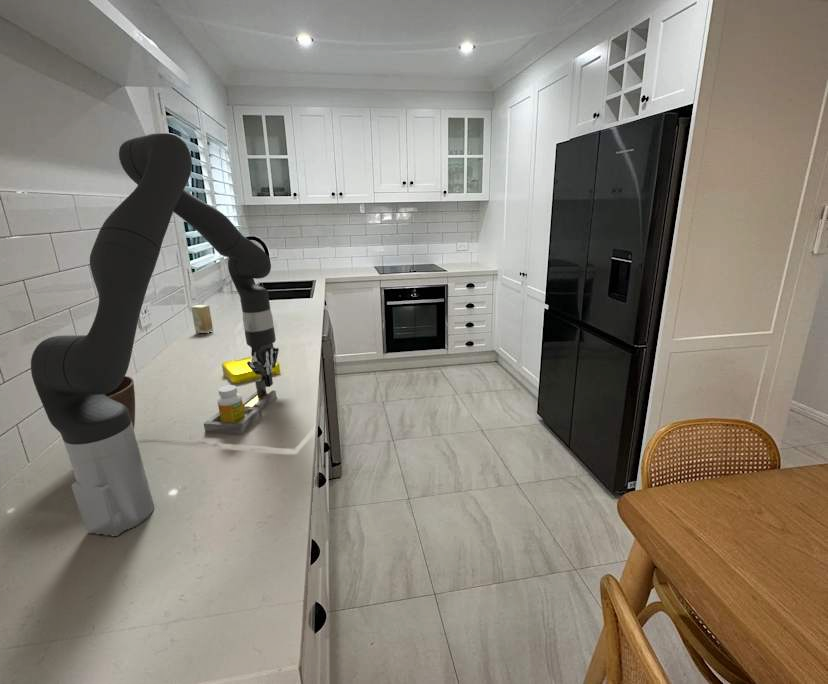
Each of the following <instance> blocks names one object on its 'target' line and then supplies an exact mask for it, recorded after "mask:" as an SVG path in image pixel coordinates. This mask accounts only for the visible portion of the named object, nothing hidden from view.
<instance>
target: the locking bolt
mask: <svg viewBox="0 0 828 684" xmlns="http://www.w3.org/2000/svg"><path fill="white" fill-rule="evenodd" d="M255 388H256V391H257V396H256V397H255V398H253V399H252V400H251V401H250V402H248V403H247V404H246V405H244V410H245V411H244V413H245V412H247V409H248V408H249V407H255V404H256V403H258V402H259V401H260V400H261V399H262V398H264V397H265V396H266V395H267V394H269V393H268V392H267V387H266V386H265V380H264V379H262V378H258V379H255ZM247 413H248V412H247Z"/></svg>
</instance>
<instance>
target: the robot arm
mask: <svg viewBox="0 0 828 684" xmlns="http://www.w3.org/2000/svg"><path fill="white" fill-rule="evenodd" d="M118 158H119V163H120V164H121V167H122V170H124V172H125V173H126V175H127V176H128V177H129V179H130V180H132V181H133V183H135V184H136V185H137V186H136V187H135V188H134V190H133V191H132V192H131V193H130V194H129V195H128V196H127V197H126V198H125V199H123V201H122V202H121V203H120V204H118V206H117V207H116V208H115V209H114V210H113V211H112V212H111V213H110V214H109V216H108V217H107V218H106V219H105V221H104V222H103V224H102V225H101V227H100V229H99V232H98V234H97V237H96V238H95V242H94V243H93V247H92V249H91V251H90V255H89V267H90V271H91V272H90V273H91V275H92V278H93V281H94V284H95V287H96V291H97V294H98V305H97V306H98V307H97V309H96V314H95V317H94V319H93V322H92V325H91V327H90V329H89V331H88V333H87V334H85V335H83V334H81V335H76V334H75V335H74V334H73V335H71V334H70V335H67V334H66V335H55V336H51V337H48V338H45V339H44V340H42V341H40V342H39V343H38V345H36V348H35V349H34V351H33V352H32V355H31V359H30V374H31V379H32V381H33V383H34V386H35V390H36V392H37V394H38V397H39V399H40V402H41V404H42V406H43V408H44V409H43V410H44V411H45V414H46V416H47V418H48V420H49V423H50V424H51V426H53V428H54V429H56V430H57V431H58V432H59V433H60V435H61V438H62V441H63V444H64V447H65V450H66V453H67V456H68V458H69V462H70V465H71V469H72V472H73V474H74V477H75V478H74V479H75V482H73V483H72V485H71V489H72V490H71V491H72V492H73V495H74V498H75V502H76V504H77V509H78V510H79V513H80V516H81V519H82V522H83V525H84V529H85V531H86V533H87V532H88V533H87V534H92V533H98V534H97V535H99V534H106V535H105V536H107V535H113V536H112V537H114V536H117V535H119V534H120V533H121V532H122V533H123V531H124V532H125V530H126V531H128V530H130V528H131V529H133V528H134V526H135V527H137V526H138V525H140V524H141V523H143V522H144V521H145V520H147V519H148V518H149V517H150V516H151V515H152V513H153V511H154V509H155V504H154V501H153V496H152V492H151V489H150V484H149V481H148V477H147V473H146V470H145V467H144V466H145V465H144V462H143V459H142V456H141V455H142V454H141V451H140V448H139V444H138V440H137V437H136V433H135V428H134V429H133V425H132V421H131V418H130V414H129V411H128V409H127V407H126V406H125V405H123V404H121V403H119V402H117V401H115V400H112V399H111V398H109V397H107V396H106V395H105V394H107V393H110V392H112V391H113V390H115V389H116V388H117V387H118V386H119V385H120V384H121V382H122V381H123V379H124V377H125V376H127V375H126V374H127V372H128V370H129V366H130V362H131V359H132V358H131V357H132V354H133V349H134V343H135V339H136V333H137V328H138V327H137V326H138V322H139V319H140V315H141V310H142V307H143V304H144V301H145V297H146V294H147V290H148V288H149V283H150V281H151V278H152V276H153V274H154V271H155V268H156V265H157V262H158V258H159V256H160V252H161V248H162V244H163V241H164V239H165V236H166V233H167V232H168V231H167V230H168V227H169V226H170V225H169V224H170V222H171V219H172V216H173V214H176V215H177V216H178V217H180V218H181V219H182V220H184V221H185V222H186V223H187V224H188V225H190V226H191V227H192V228H193V229H194V230H196V231H197V232H198V234H200V235H201V236H202V238H204V239H205V241H207V243H209V244H210V246H211V247H213V248H214V250H215V251H216V252H217V253H218V254H220V255H221V256H223V257H226V258H228V261H227V269H228V273H229V275H230V278H231V280H232V282H233V285H234V286H235V289H236V291H237V293H238V295H239V298H240V304H241V311H242V323H243V329H244V330H243V331H244V336H245V341H246V343H245V344H246V345H247V346H248V347H250V349H251V351H250V353H251V355H250V356H252V359H251V361H248V362H247V365H248V366H249V367H250V368H251V370H252V371H253V372H254V373H255V374H256V375H261V376H262V377H261V379H264V380H265V386H266V388H270V387H271V386H273V384H274V382H273V375H272V374H271V372H272V371H273V368H275V366H276V361H277V362H278V357H279V356H278V355H279V352H280V349H279V348H278V347H274V343H276V340H277V339H276V332H275V325H274V319H273V318H274V317H273V314H272V310H271V304H270V297H269V292H268V289H267V288H265V287H263V286H260V285H258V284H256V282H255V280H254V279H258V280H259V279H263V278H266V277H267V276H268V275H269V274H270V272H271V269H272V264H271V263H272V262H271V260H270V258H269V255H268V254H267V253H266V252H265V250H263V249H262V248H261V247H260V246H258V245H257V244H256V243H254V242H253V241H252V240H250V239H249V238H247V237H246V236H244V235H243V234H242V233H241V232H240V231H239V229H238V228H237V227H236V226H235V225H234V224H233V222H232V221H231V220H230V219H229V217H227V215H225V214H224V213H222V212H221V211H220V210H219V209H217V208H215V207H214V206H212V205H210V204H207V202H204V201H203V200H201V199H199V198H197V197H196V196H195V195H193V194H191V193H190V192H189V191H187V190H185V188H186V186H187V184H188V182H189V179H190V177H191V175H192V167H193V161H192V160H193V159H192V156H191V152H190V148H189V147H188V145H187V144H186V142H185V140H184V139H182V138H181V137H180V136H179V135H176V134H174V133H170V132H165V131H164V132H154V133H149V134H146V135H142V136H137V137H134V138H131V139H130V138H129V139H128V140H125V141H124V142H123V143H122V144H121V145H120V146H119V151H118ZM127 529H128V530H127ZM122 533H121V534H122ZM121 534H120V535H121ZM120 535H119V536H120ZM117 537H118V536H117Z"/></svg>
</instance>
